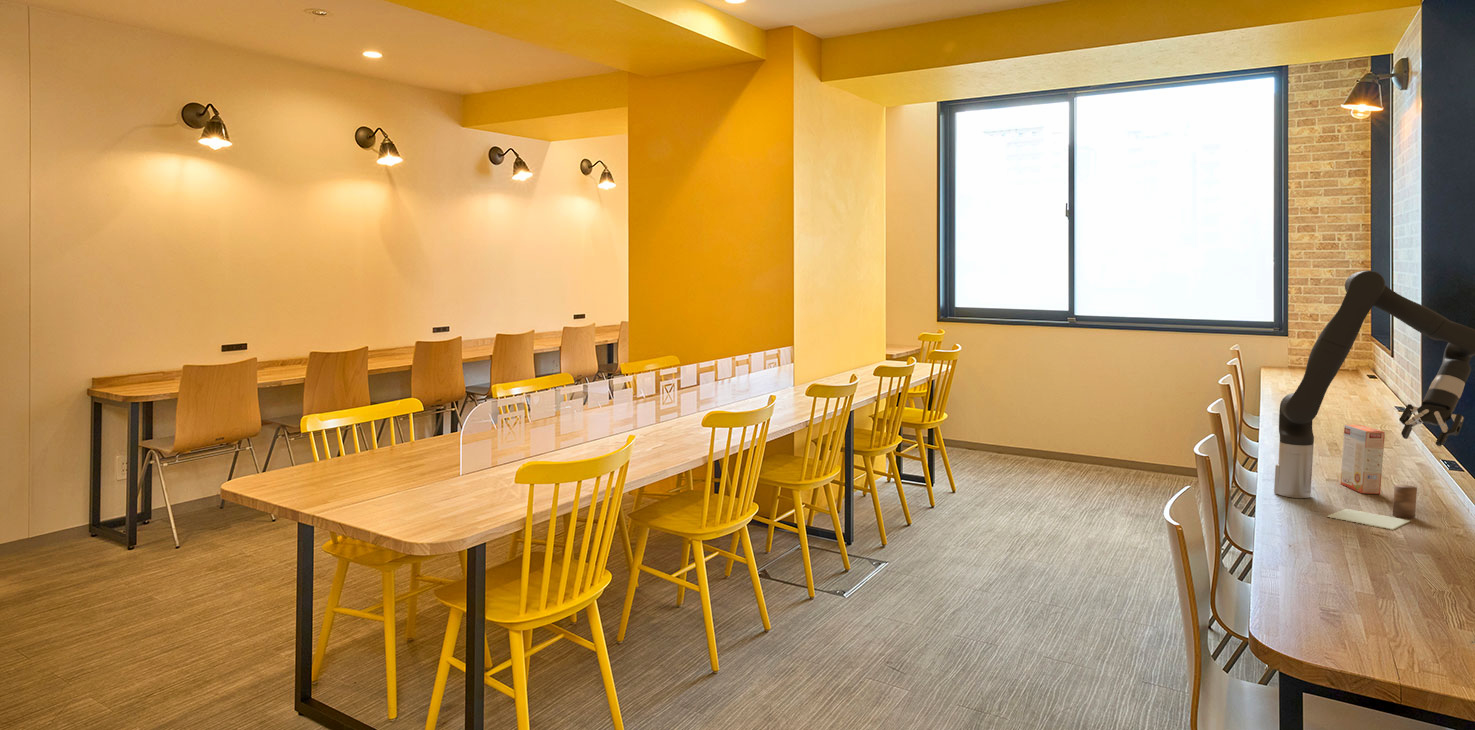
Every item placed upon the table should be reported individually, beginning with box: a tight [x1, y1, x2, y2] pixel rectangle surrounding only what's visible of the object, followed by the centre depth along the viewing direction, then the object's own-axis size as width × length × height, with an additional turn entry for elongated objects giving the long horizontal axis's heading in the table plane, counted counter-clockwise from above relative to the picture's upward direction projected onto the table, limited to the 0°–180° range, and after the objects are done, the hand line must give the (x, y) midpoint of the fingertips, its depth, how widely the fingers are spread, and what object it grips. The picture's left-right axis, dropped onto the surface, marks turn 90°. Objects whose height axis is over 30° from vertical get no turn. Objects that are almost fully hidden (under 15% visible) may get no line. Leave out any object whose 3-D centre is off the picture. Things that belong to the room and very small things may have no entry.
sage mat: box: [1326, 508, 1411, 531], centre depth 247 cm, size 16×14×1 cm
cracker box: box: [1340, 424, 1386, 495], centre depth 281 cm, size 14×6×21 cm, turn 168°
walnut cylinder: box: [1392, 484, 1418, 520], centre depth 250 cm, size 5×5×9 cm
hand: (1421, 441), depth 251 cm, fingers open, 8 cm apart
